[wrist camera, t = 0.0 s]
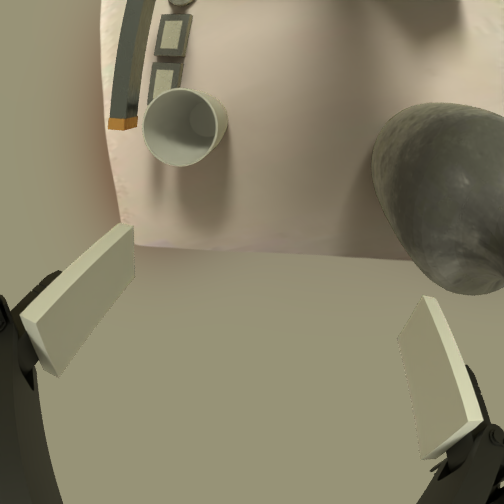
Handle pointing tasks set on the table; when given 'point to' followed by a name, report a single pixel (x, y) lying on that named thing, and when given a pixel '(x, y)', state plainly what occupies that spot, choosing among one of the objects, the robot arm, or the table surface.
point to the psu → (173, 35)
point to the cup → (183, 126)
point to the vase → (446, 192)
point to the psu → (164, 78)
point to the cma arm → (130, 64)
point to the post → (181, 2)
